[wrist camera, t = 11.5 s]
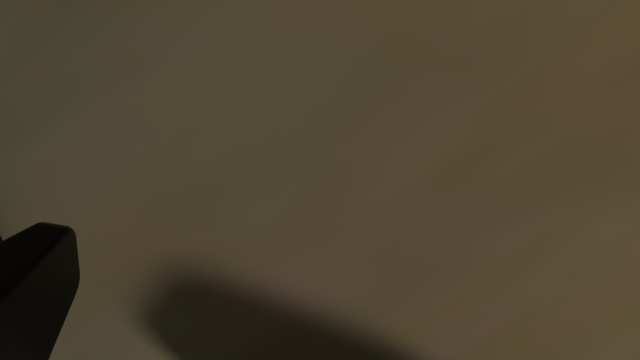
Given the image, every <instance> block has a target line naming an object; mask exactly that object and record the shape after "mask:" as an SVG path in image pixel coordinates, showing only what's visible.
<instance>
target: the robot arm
mask: <svg viewBox="0 0 640 360" xmlns="http://www.w3.org/2000/svg"><path fill="white" fill-rule="evenodd" d="M79 281H80V269H79V260H78V250H77V240H76V234H75V232H74V230H73V229H72V228H71V227H69V226H64V225H59V224H53V223H47V222H40V223H37V224H35V225H32V226H31V227H29V228H27V229H25V230H23V231H21V232H19V233H17V234H15V235H13V236H11V237H9V238H7V239H5V240H3V241H2V238H1V236H0V360H49V357H50V355H51V352H52V350H53V348H54V345H55V343H56V340H57V338H58V336H59V333H60V331H61V328H62V326H63V324H64V321H65V319H66V316H67V314H68V312H69V309H70V307H71V304H72V302H73V300H74V297H75V295H76V292H77V289H78V286H79Z"/></svg>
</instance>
